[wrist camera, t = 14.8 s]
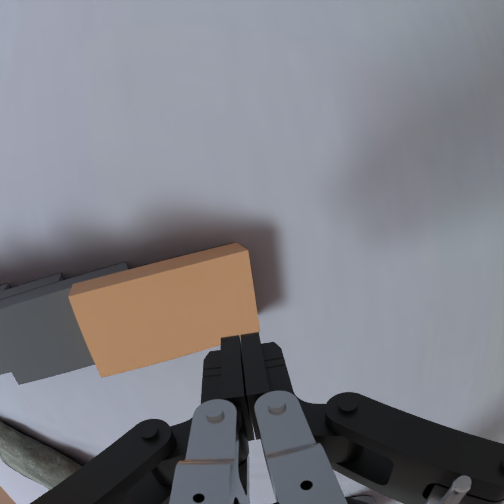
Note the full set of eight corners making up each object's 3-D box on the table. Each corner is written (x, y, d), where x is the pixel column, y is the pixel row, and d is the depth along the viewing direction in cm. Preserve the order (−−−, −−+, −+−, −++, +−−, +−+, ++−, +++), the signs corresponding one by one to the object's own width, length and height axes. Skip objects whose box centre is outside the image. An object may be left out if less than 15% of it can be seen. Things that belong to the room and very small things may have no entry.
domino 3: (248, 250, 17) (68, 296, 14) (260, 331, 18) (101, 377, 15) (236, 242, 18) (72, 284, 15) (248, 318, 20) (101, 360, 17)
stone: (121, 470, 24) (4, 403, 24) (108, 497, 20) (-15, 420, 20) (113, 512, 26) (13, 456, 25) (104, 534, 22) (-1, 473, 22)
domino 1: (57, 281, 16) (-55, 317, 13) (85, 351, 18) (-24, 380, 14) (61, 272, 18) (-46, 307, 14) (85, 338, 19) (-18, 367, 16)
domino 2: (128, 270, 16) (-17, 314, 13) (152, 346, 18) (18, 384, 14) (125, 261, 18) (-9, 302, 14) (147, 333, 20) (22, 369, 16)
